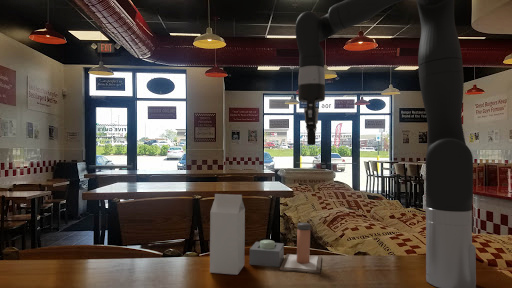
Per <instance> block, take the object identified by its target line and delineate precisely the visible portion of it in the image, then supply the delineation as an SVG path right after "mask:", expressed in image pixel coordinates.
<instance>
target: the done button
mask: <svg viewBox="0 0 512 288" xmlns="http://www.w3.org/2000/svg"><path fill="white" fill-rule="evenodd" d="M259 242H260V248H264V249H274V248H275V243H276V242H275V241H274V240H271V239H262V240H260V241H259Z"/></svg>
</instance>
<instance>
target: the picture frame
mask: <svg viewBox="0 0 512 288" xmlns="http://www.w3.org/2000/svg"><path fill="white" fill-rule="evenodd" d="M322 257H323V256H321V255H310V258H309V263H307V264H302V263H298V262H297V253H295V254H294V253H286V255H284V258H283V260H282V262H281V264H280V267H279V271H281V272H282V271H284V272H295V273H297V272H298V273H306V272H307V273H309V274H318V275H319V274H321V268H322V259H323V258H322ZM307 273H306V274H307Z"/></svg>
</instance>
